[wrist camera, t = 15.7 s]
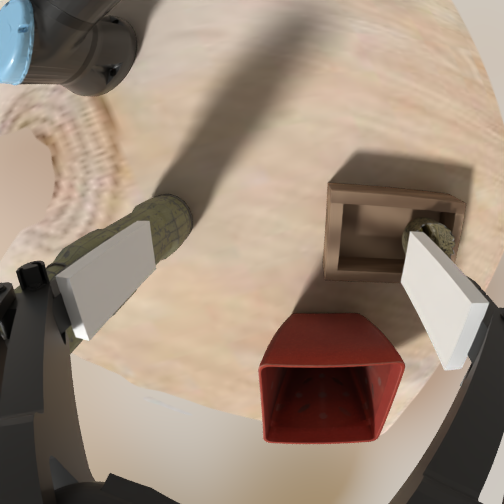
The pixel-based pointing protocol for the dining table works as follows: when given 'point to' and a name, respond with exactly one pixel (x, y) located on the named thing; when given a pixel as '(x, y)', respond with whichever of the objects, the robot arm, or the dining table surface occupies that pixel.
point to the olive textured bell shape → (430, 234)
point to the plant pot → (327, 380)
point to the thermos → (154, 210)
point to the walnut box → (379, 229)
